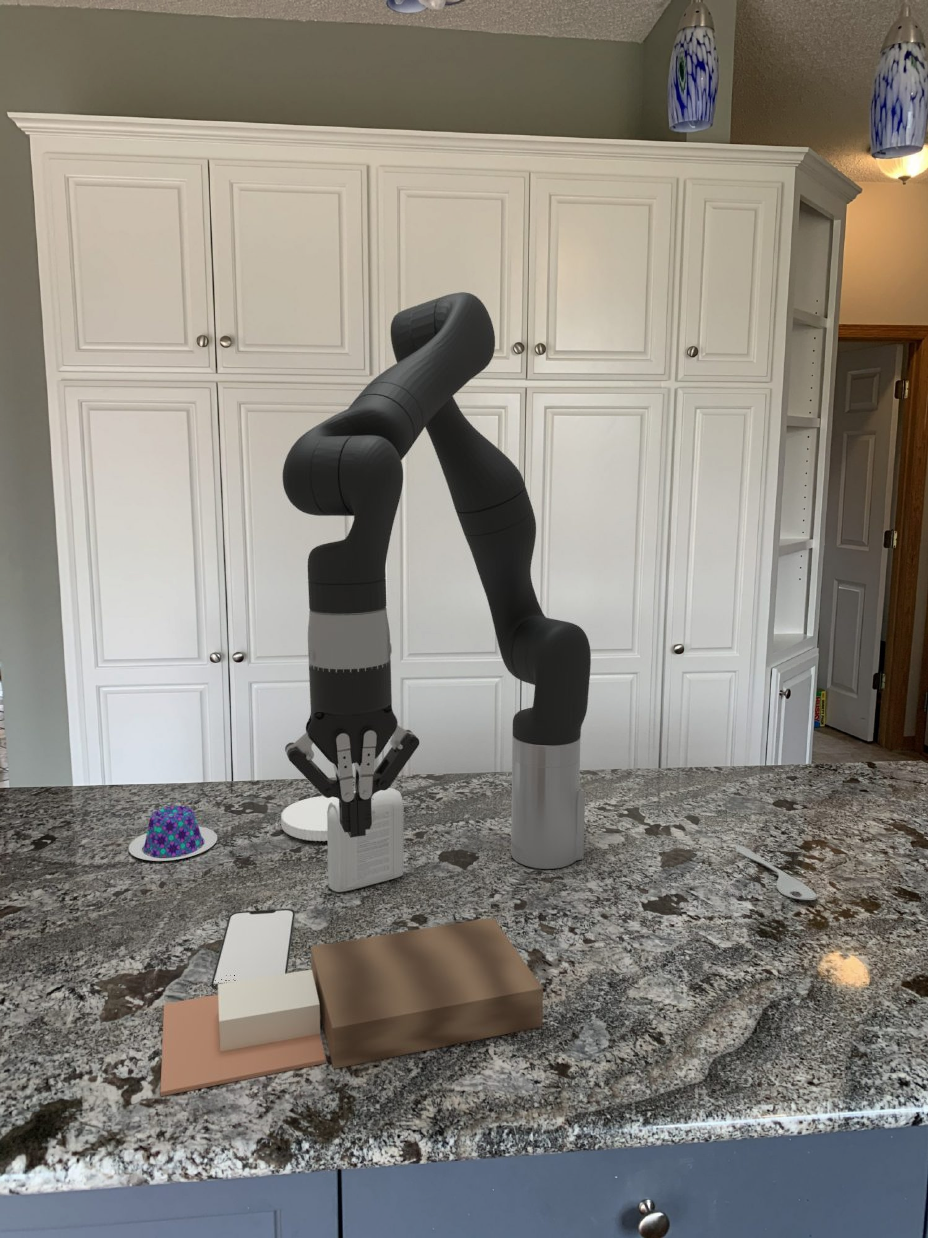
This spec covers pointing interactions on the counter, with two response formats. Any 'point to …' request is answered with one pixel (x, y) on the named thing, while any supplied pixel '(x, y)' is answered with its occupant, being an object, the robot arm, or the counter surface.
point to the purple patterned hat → (172, 835)
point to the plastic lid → (307, 819)
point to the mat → (202, 1064)
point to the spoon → (781, 878)
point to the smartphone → (255, 945)
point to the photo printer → (367, 845)
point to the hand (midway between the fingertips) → (355, 833)
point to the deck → (422, 991)
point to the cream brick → (268, 1010)
